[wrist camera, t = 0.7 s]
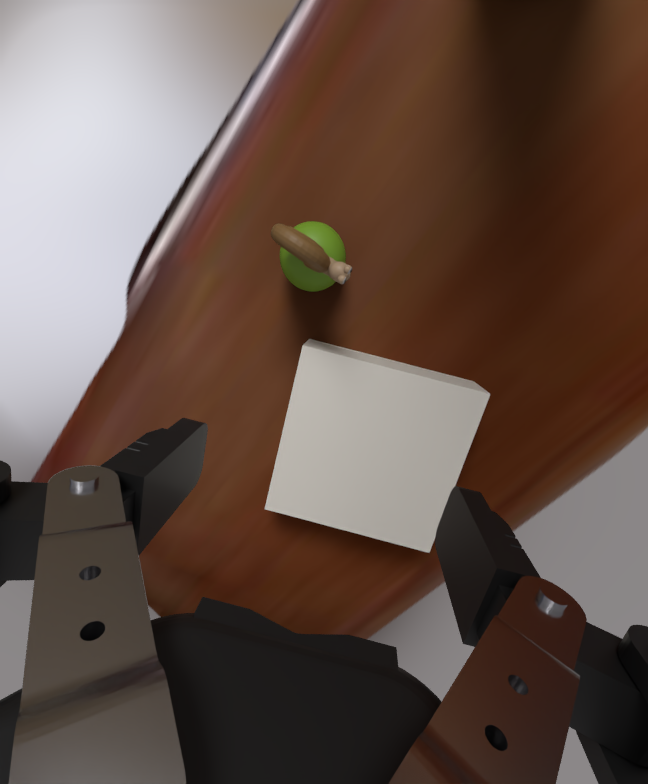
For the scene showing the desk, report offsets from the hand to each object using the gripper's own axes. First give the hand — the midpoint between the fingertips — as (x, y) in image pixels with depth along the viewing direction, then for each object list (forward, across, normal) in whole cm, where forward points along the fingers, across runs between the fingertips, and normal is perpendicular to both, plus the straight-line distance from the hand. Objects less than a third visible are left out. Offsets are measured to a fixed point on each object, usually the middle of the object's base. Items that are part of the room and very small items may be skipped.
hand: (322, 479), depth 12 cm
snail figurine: (+25, +4, -7) cm, 26 cm away
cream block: (+25, -4, +8) cm, 26 cm away
